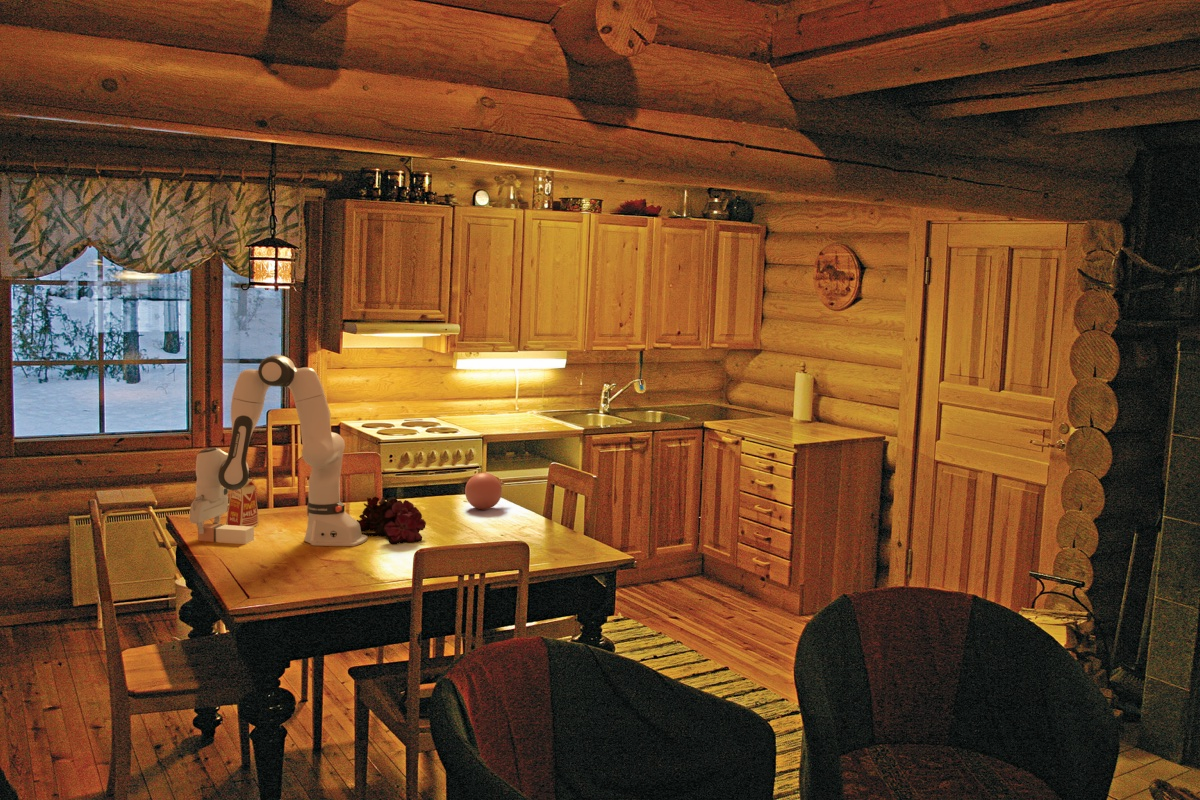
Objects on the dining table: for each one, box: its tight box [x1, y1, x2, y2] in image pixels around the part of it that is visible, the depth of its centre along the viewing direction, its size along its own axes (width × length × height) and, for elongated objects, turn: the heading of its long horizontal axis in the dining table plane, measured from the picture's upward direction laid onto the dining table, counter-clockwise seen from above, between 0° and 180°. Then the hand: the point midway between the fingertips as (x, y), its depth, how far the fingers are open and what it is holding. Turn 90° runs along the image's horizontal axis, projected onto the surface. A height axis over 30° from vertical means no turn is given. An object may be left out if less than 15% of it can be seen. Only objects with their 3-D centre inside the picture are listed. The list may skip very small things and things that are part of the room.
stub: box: [197, 523, 223, 543], centre depth 385 cm, size 6×6×5 cm
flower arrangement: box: [356, 496, 427, 546], centre depth 399 cm, size 31×20×15 cm, turn 48°
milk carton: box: [225, 478, 260, 528], centre depth 407 cm, size 9×9×20 cm
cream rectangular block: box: [213, 523, 255, 545], centre depth 383 cm, size 12×6×5 cm, turn 81°
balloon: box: [464, 472, 505, 511], centre depth 450 cm, size 15×20×15 cm
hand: (208, 530), depth 385 cm, fingers open, 8 cm apart
